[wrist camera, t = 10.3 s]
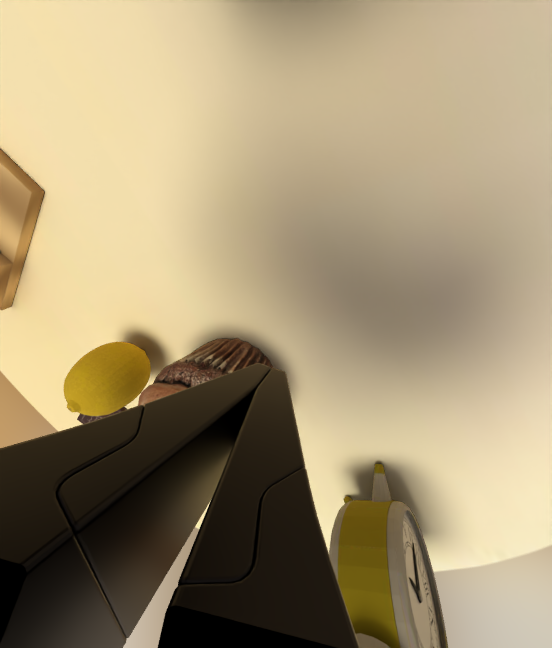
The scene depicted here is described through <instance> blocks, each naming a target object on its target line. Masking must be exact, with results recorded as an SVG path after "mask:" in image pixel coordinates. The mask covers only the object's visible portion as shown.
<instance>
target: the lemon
mask: <svg viewBox="0 0 552 648" xmlns="http://www.w3.org/2000/svg"><path fill="white" fill-rule="evenodd" d="M150 372H151V367H150V361H149V359H148V357H147V355H146V352H145V351H144V350H143V349H140V348H139V347H137V346H136V345H133V344H130V343H126V342H113V343H108V344H105V345H102V346H100V347H98V348H96V349H94V350H92V351H90V352H89V353H87V354H86V355H84V356H83V357H82V358H81V359H80V360H79V361H78V362H77V363H76V364H75V365H74V366H73V367H72V369H71V370H70V372H69V373H68V375H67V377H66V379H65V383H64V395H65V399H66V401H67V403H68V404H67V408H68V409H69V410H70V411H71V412H79V413H81V414H84V415H89V416H102V415H107V414H110V413H113V412H115V411H117V410H119V409H121V408H122V407H124V406H126V405H127V404H129V403H130V402H131V401H133V400H134V399H135V398H136V397H137V396H138V395H139V394H140V393H141V392H142V390H143V389H144V387H145V386H146V384H147V382H148V380H149V377H150Z"/></svg>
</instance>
